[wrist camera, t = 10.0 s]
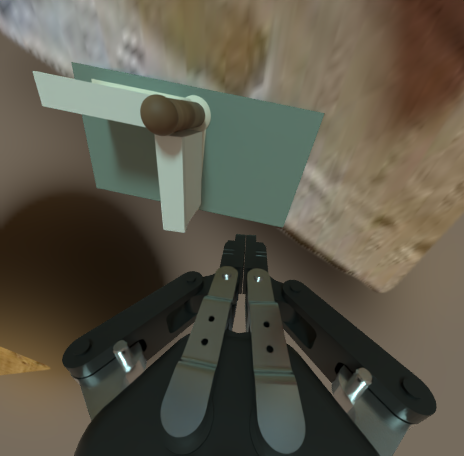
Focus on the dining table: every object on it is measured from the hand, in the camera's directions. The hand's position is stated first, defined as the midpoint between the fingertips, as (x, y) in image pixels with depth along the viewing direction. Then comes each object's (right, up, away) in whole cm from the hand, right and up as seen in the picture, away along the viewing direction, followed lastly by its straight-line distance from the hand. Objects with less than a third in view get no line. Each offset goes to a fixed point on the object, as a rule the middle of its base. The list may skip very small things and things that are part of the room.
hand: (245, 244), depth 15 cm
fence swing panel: (-6, +8, +10) cm, 14 cm away
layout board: (-6, +10, +10) cm, 15 cm away
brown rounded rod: (-5, +14, +7) cm, 17 cm away
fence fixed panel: (-11, +15, +7) cm, 20 cm away
